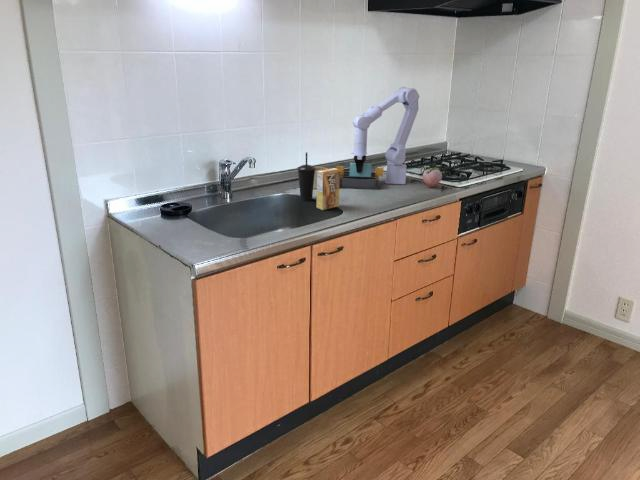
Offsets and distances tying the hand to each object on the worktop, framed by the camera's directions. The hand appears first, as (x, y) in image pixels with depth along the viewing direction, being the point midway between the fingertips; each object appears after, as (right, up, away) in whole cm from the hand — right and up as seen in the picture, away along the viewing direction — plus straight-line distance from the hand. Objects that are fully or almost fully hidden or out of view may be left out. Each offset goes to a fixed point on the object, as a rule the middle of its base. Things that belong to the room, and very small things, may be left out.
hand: (359, 171), depth 242 cm
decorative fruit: (+33, -7, 0) cm, 34 cm away
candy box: (-15, -19, -32) cm, 41 cm away
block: (0, -4, +1) cm, 4 cm away
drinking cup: (-24, -15, -22) cm, 36 cm away
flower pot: (-19, -8, -4) cm, 21 cm away
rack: (0, -6, +2) cm, 6 cm away
